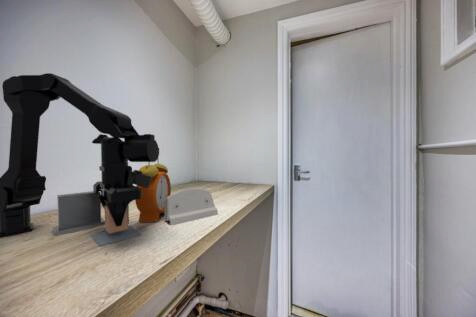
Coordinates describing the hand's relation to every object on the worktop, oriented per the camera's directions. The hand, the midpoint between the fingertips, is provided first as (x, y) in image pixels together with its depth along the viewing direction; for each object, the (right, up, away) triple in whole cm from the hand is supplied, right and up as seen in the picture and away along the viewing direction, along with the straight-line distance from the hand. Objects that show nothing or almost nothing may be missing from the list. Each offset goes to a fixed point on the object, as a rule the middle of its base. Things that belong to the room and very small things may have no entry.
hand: (116, 223), depth 50 cm
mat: (0, -3, 0) cm, 3 cm away
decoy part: (-4, -3, +8) cm, 10 cm away
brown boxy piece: (0, -1, 0) cm, 1 cm away
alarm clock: (+4, -3, +15) cm, 15 cm away
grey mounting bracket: (+15, -3, +15) cm, 21 cm away
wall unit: (-13, -3, +5) cm, 14 cm away
